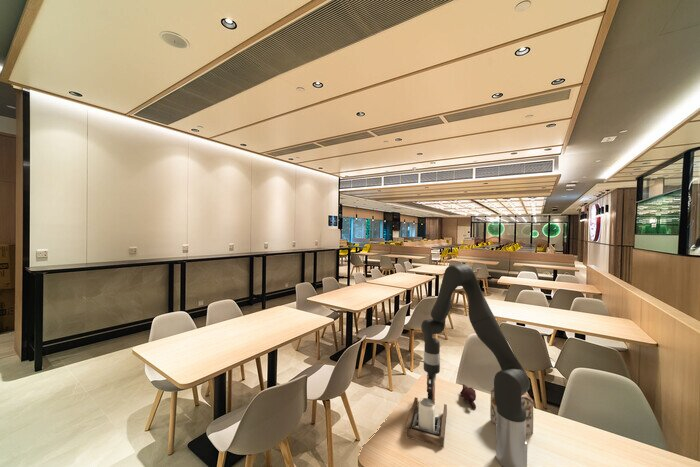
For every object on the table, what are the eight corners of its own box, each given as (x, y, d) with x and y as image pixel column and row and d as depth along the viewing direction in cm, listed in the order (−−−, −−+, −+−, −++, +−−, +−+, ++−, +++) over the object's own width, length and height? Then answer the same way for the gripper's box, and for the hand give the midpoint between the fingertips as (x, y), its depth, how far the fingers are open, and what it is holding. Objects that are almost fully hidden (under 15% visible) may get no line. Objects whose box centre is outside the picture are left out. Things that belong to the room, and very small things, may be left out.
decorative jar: (511, 415, 125) (511, 376, 125) (534, 434, 113) (534, 390, 113) (489, 419, 122) (489, 379, 122) (510, 438, 110) (510, 394, 110)
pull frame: (443, 404, 131) (443, 383, 132) (438, 442, 108) (438, 416, 108) (420, 399, 135) (421, 378, 135) (411, 434, 112) (411, 409, 112)
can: (435, 437, 111) (435, 407, 111) (418, 435, 112) (419, 405, 112) (433, 426, 117) (434, 398, 117) (418, 424, 118) (418, 396, 118)
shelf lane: (446, 413, 126) (446, 404, 126) (443, 447, 105) (443, 437, 105) (414, 405, 131) (415, 397, 131) (405, 436, 111) (406, 426, 111)
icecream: (454, 379, 143) (464, 399, 128) (468, 376, 143) (480, 396, 128) (457, 391, 144) (467, 413, 129) (471, 389, 143) (483, 410, 128)
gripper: (438, 369, 124) (437, 404, 124) (441, 356, 137) (440, 388, 137) (421, 365, 127) (421, 400, 127) (425, 353, 140) (424, 385, 140)
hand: (431, 394), depth 132 cm, fingers open, 8 cm apart
